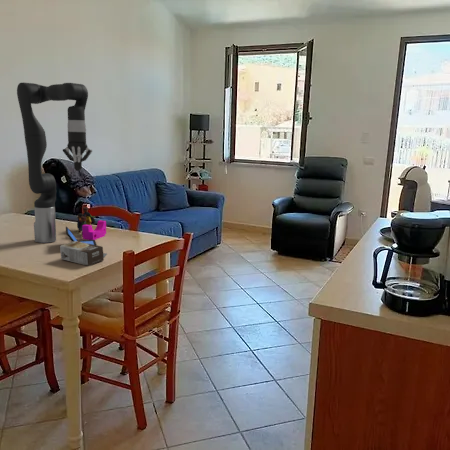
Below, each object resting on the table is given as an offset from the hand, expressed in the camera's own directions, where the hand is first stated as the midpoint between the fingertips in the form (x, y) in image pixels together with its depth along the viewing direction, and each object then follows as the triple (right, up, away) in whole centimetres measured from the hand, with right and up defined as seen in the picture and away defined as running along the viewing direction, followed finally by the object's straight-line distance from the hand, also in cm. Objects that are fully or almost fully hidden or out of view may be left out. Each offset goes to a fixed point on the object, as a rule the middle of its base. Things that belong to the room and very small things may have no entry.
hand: (78, 170), depth 196 cm
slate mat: (+6, -38, -2) cm, 39 cm away
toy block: (-2, -31, +35) cm, 46 cm away
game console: (-4, -35, +16) cm, 38 cm away
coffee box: (-3, -35, -5) cm, 35 cm away
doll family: (-10, -29, +42) cm, 52 cm away
